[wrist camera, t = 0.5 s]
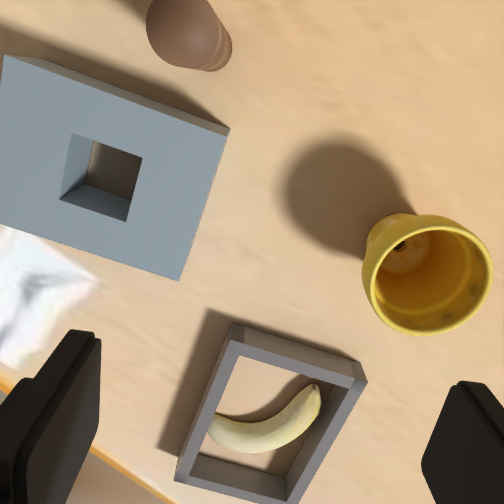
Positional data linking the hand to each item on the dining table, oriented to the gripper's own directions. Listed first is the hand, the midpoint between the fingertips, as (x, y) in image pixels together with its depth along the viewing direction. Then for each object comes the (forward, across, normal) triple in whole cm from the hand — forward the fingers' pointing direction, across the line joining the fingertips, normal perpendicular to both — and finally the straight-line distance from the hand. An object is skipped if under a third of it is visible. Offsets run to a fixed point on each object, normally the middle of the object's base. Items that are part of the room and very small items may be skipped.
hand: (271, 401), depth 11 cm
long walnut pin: (+33, +6, -10) cm, 35 cm away
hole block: (+33, +13, +2) cm, 36 cm away
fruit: (+34, -6, +29) cm, 45 cm away
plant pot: (+33, -16, +5) cm, 37 cm away
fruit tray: (+33, -6, +30) cm, 45 cm away
